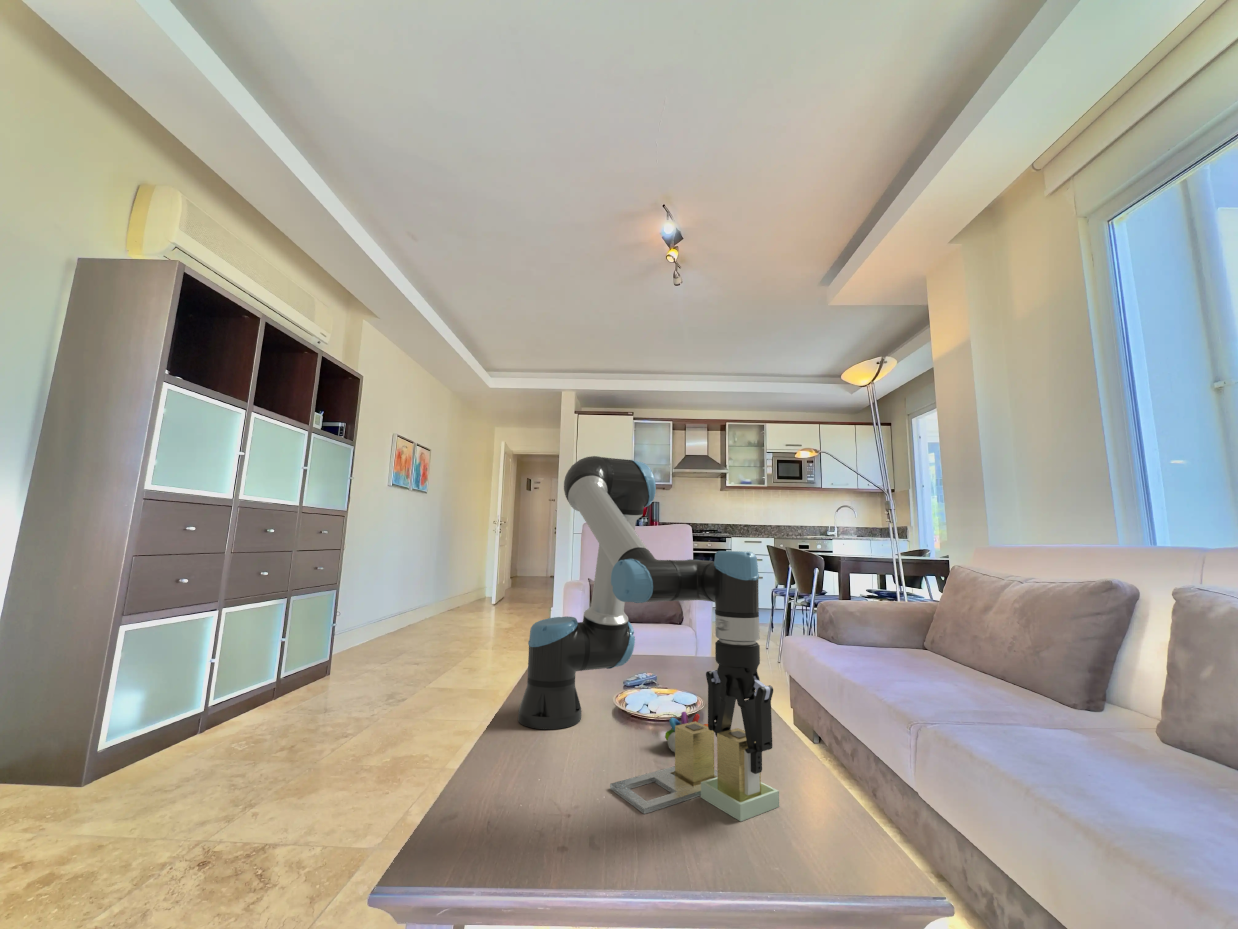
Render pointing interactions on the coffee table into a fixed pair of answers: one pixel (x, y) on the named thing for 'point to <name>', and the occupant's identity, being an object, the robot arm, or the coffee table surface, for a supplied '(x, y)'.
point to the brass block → (732, 764)
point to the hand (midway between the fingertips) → (739, 785)
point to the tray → (740, 809)
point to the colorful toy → (674, 722)
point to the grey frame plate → (662, 778)
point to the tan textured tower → (694, 753)
